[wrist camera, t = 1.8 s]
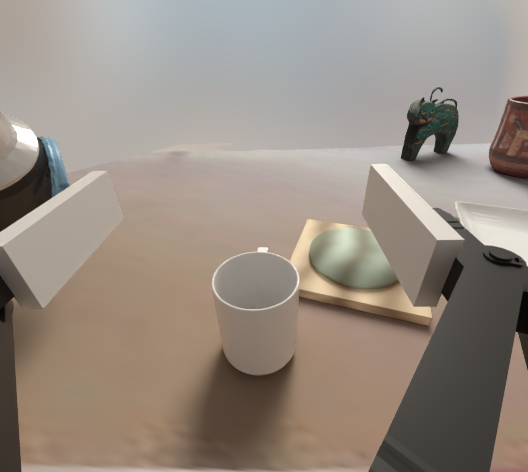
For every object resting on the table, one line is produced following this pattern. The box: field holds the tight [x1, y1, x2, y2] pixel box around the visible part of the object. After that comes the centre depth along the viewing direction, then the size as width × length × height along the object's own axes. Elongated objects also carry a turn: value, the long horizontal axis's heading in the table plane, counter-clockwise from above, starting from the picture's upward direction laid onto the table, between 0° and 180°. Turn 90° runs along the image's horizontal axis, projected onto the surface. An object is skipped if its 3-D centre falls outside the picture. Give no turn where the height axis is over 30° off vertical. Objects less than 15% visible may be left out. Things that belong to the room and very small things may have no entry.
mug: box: [212, 247, 300, 375], centre depth 33 cm, size 12×9×11 cm
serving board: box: [290, 219, 432, 326], centre depth 46 cm, size 20×20×2 cm
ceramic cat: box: [401, 87, 458, 161], centre depth 87 cm, size 20×6×20 cm, turn 114°
